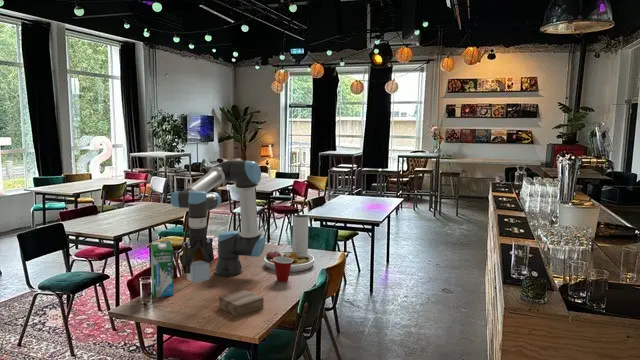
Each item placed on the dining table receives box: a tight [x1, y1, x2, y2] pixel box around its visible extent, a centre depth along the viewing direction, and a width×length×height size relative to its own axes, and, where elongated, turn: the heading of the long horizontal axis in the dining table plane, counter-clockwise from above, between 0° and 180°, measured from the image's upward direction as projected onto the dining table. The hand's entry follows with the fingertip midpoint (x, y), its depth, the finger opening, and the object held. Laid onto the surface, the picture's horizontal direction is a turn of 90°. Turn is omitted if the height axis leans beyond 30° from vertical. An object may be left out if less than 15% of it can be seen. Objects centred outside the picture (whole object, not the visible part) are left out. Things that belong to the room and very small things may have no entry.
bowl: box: [263, 250, 315, 273], centre depth 266 cm, size 30×30×8 cm
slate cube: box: [186, 260, 210, 284], centre depth 194 cm, size 7×7×7 cm
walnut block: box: [218, 289, 264, 317], centre depth 200 cm, size 14×14×5 cm
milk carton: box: [150, 240, 175, 299], centre depth 215 cm, size 9×9×25 cm
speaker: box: [291, 214, 310, 254], centre depth 292 cm, size 11×10×26 cm
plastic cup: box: [273, 257, 293, 283], centre depth 238 cm, size 11×11×12 cm
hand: (198, 278), depth 194 cm, fingers closed on slate cube, 7 cm apart
